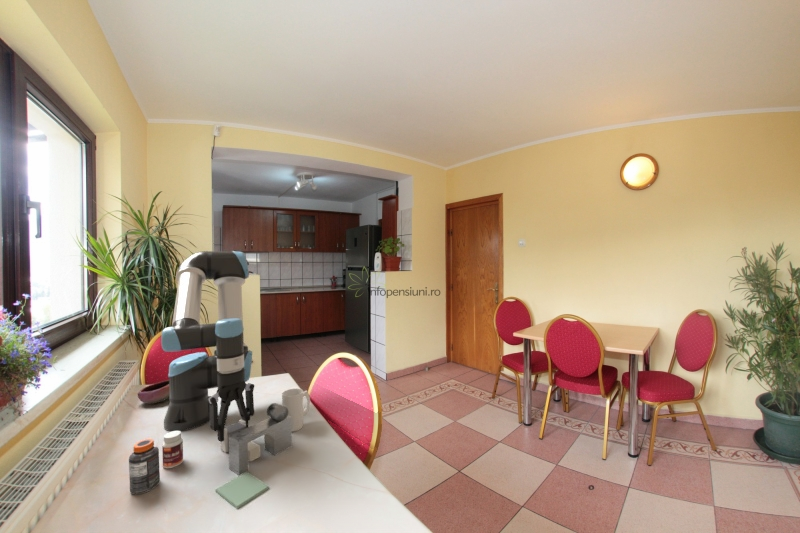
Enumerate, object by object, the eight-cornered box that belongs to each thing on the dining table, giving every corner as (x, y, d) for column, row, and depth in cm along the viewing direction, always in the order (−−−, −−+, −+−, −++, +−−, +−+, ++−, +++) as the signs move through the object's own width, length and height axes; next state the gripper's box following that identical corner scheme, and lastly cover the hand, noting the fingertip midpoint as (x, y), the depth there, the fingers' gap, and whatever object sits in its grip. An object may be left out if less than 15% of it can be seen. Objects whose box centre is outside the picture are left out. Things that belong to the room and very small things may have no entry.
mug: (289, 434, 105) (288, 398, 105) (279, 428, 109) (278, 392, 109) (315, 422, 113) (315, 388, 112) (305, 417, 117) (304, 384, 117)
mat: (215, 491, 79) (215, 489, 79) (246, 473, 86) (246, 471, 86) (237, 508, 73) (237, 506, 73) (268, 488, 80) (268, 485, 80)
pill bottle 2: (161, 471, 87) (160, 440, 87) (164, 461, 92) (163, 432, 92) (182, 465, 90) (181, 435, 90) (184, 456, 94) (183, 428, 94)
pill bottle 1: (153, 476, 85) (152, 433, 85) (164, 483, 82) (163, 439, 82) (125, 490, 80) (124, 445, 80) (136, 498, 77) (134, 451, 77)
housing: (229, 469, 88) (228, 421, 88) (282, 441, 101) (281, 399, 101) (239, 475, 85) (238, 426, 85) (292, 445, 98) (291, 403, 98)
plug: (220, 447, 98) (219, 427, 98) (236, 439, 103) (235, 421, 102) (246, 463, 90) (246, 442, 90) (263, 454, 94) (262, 434, 94)
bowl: (146, 411, 124) (146, 390, 124) (133, 404, 131) (132, 384, 131) (191, 396, 138) (191, 377, 138) (176, 390, 145) (176, 372, 145)
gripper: (205, 380, 89) (208, 465, 89) (265, 363, 104) (267, 435, 104) (193, 376, 93) (196, 457, 93) (252, 360, 108) (254, 430, 108)
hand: (234, 445), depth 99 cm, fingers closed on plug, 5 cm apart
